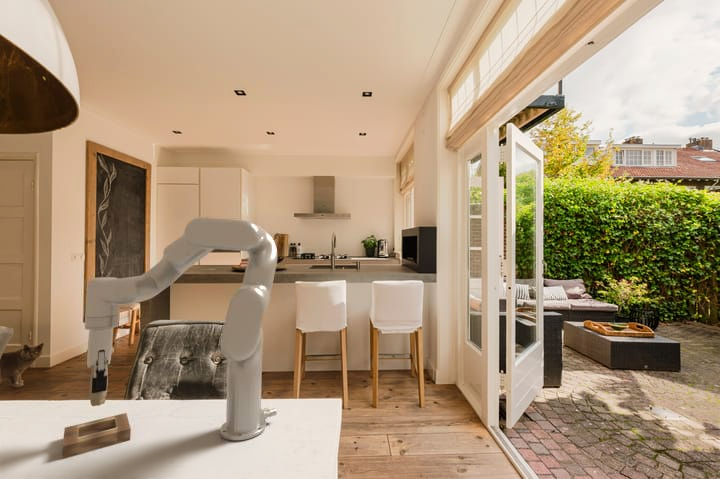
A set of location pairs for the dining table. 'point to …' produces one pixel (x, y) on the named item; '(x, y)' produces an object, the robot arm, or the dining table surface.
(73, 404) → the dining table surface
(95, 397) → the handle
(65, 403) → the dining table surface
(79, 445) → the wooden frame
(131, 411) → the dining table surface
